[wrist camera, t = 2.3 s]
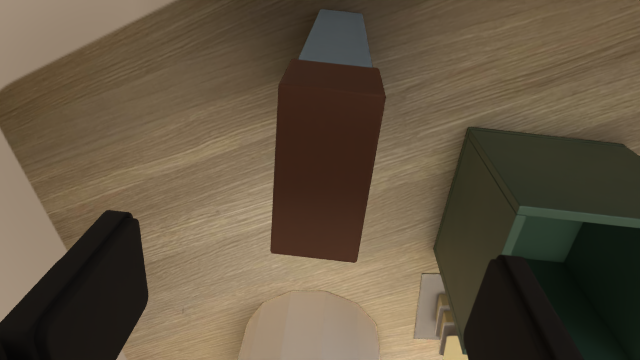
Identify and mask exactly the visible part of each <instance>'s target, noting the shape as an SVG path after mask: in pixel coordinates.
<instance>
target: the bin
mask: <svg viewBox="0 0 640 360" xmlns="http://www.w3.org/2000/svg"><path fill="white" fill-rule="evenodd" d="M434 253H435V257H436V260H437V264H438V268H439V271H440V275H441V278H442V282H443V285H444V289H445V293H446V296H447V300H448V303H449V307H450V311H451V314H452V318H453V321H454V325H455V329H456V332H457V336H458V339H459V343H460V347H461V350H462V354H463V355H467V353H466V349H465V346H464V341H463V334H464V329H465V326H466V323H467V321H468V318H469V315H470V313H471V310H472V307H473V304H474V302H475V299H476V296H477V293H478V291H479V288H480V285H481V283H482V280H483V277H484V274H485V272H486V269H487V266H488V263H489V261H490V260H491V259H496V258H497V256H498V255H501V254H502V255H511V256H520V257H523V258H524V259H525V260H526V262H527V263H528V265H529V267H530V269H531V270H532V272H533V274H534V276H535V277H536V279H537V281H538V283H539V284H540V286H541V288H542V290H543V291H544V293H545V295H546V297H547V298H548V300H549V302H550V304H551V305H552V307H553V309H554V310H555V312H556V314H557V315H558V316H559V317H560V319H561V320H562V322H563V324H564V326H565V327H566V329H567V331H568V332H569V334H570V336H571V338H572V339H573V341H574V343H575V345H576V346H577V348H578V350H579V352H580V353H581V355H582V357H583V358H584V360H640V156H638V155H637V154H636V153H634V152H633V151H631V150H630V149H629V148H627V147H626V146H625V145H623V144H617V143H608V142H599V141H590V140H581V139H572V138H563V137H554V136H545V135H536V134H527V133H519V132H510V131H501V130H492V129H483V128H474V127H468V130H467V133H466V137H465V140H464V144H463V147H462V151H461V154H460V158H459V161H458V165H457V168H456V172H455V175H454V179H453V182H452V186H451V189H450V193H449V196H448V200H447V203H446V207H445V210H444V214H443V217H442V221H441V224H440V228H439V231H438V235H437V238H436V242H435V245H434Z"/></svg>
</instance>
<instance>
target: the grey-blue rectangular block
mask: <svg viewBox="0 0 640 360" xmlns="http://www.w3.org/2000/svg"><path fill="white" fill-rule="evenodd" d="M298 59H299V60H308V61H317V62H326V63H335V64H344V65H353V66H362V67H371V68H373V67H372V62H371V56H370V51H369V46H368V41H367V36H366V31H365V26H364V20H363V15H362V14H361V13H352V12H343V11H334V10H325V9H320V11H319V13H318V16H317V18H316V20H315V22H314V25H313V27H312V29H311V31H310V34H309V36H308V38H307V40H306V43H305V45H304V47H303V49H302V51H301V54H300V56H299V58H298Z"/></svg>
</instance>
